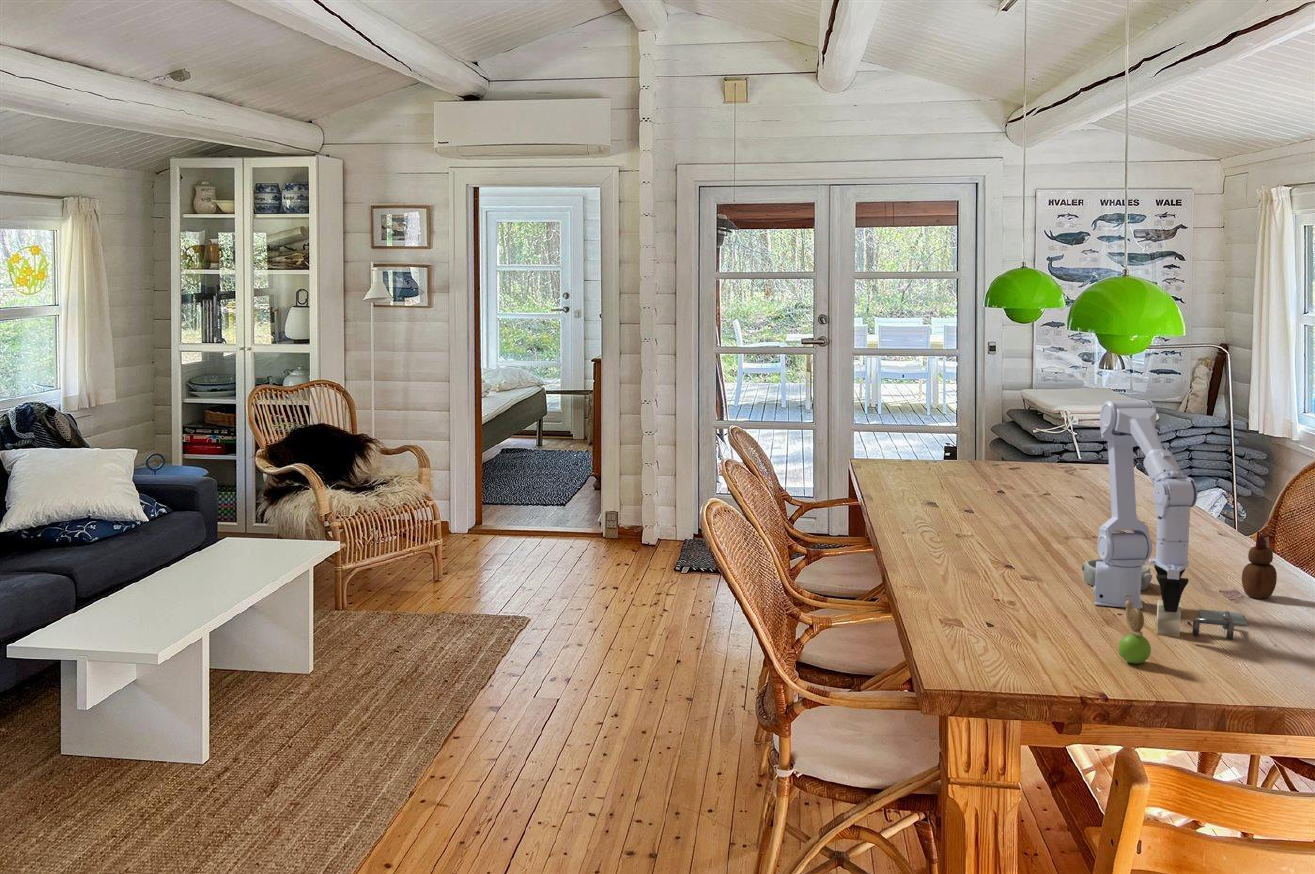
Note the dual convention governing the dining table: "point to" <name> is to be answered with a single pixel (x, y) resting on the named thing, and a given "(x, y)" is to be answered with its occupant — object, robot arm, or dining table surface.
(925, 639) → the dining table surface
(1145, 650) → the green beige tall piece
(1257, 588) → the wooden figurine
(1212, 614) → the mat
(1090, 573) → the dish
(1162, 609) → the ash block
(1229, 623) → the bent rod
